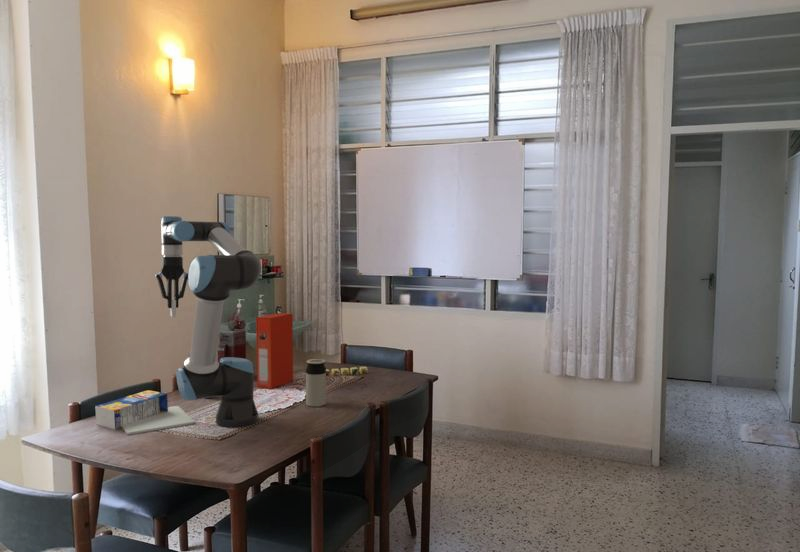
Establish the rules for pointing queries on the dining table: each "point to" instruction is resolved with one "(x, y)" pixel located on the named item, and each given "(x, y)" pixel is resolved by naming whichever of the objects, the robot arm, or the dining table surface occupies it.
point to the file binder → (274, 350)
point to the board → (159, 421)
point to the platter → (347, 371)
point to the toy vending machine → (232, 342)
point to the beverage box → (131, 409)
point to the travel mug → (315, 383)
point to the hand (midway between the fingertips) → (173, 316)
